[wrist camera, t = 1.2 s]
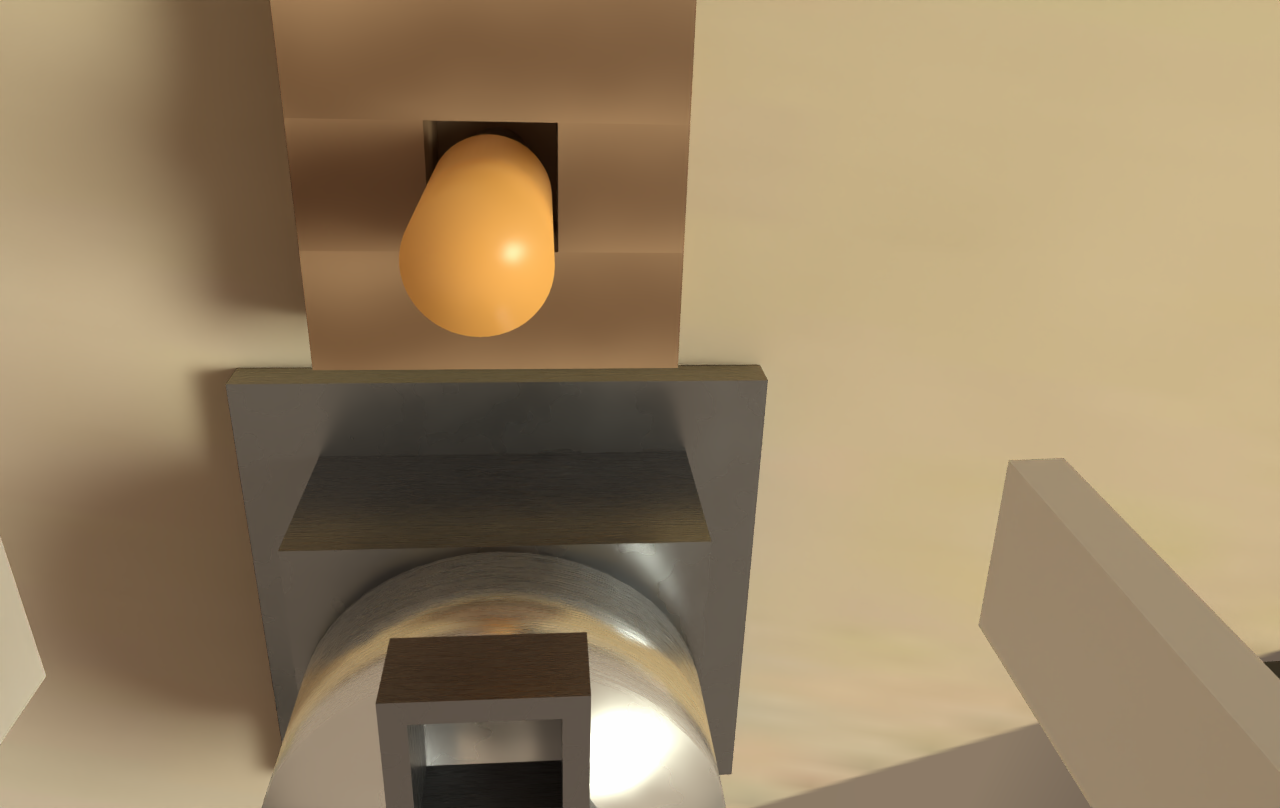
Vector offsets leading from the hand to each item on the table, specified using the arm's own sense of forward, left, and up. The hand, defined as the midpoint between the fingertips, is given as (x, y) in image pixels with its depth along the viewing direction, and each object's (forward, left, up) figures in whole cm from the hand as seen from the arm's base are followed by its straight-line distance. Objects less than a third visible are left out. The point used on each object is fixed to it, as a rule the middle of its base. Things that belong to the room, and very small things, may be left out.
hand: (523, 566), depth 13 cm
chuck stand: (+17, -1, -25) cm, 30 cm away
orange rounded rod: (-1, -1, -24) cm, 24 cm away
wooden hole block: (-1, -1, -25) cm, 25 cm away
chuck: (+17, -1, -16) cm, 23 cm away
